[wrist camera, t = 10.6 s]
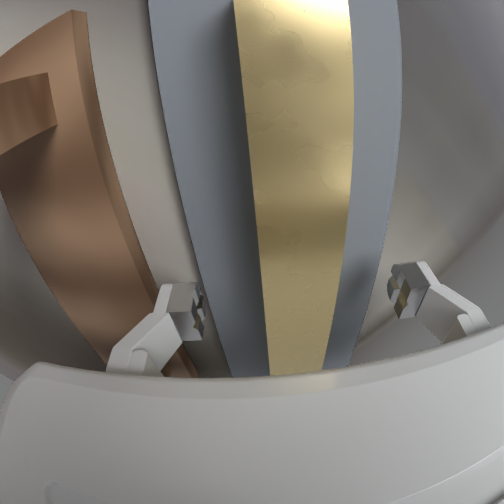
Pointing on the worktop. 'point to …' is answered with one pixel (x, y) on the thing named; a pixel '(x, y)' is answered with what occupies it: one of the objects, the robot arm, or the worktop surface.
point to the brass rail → (298, 164)
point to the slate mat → (240, 176)
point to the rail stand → (72, 188)
